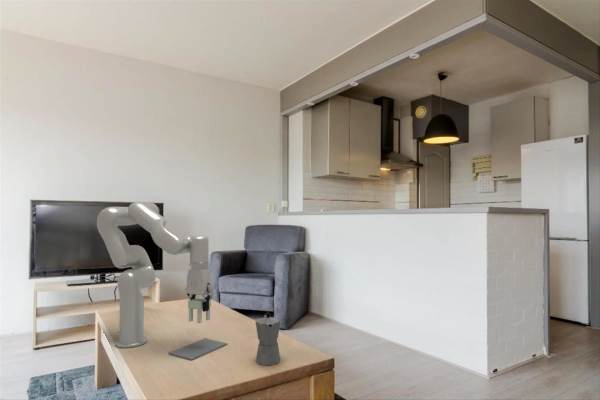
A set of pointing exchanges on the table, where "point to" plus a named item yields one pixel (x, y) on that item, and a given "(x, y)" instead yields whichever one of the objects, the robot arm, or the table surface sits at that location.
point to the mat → (197, 349)
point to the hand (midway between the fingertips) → (199, 309)
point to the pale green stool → (198, 309)
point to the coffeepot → (268, 340)
